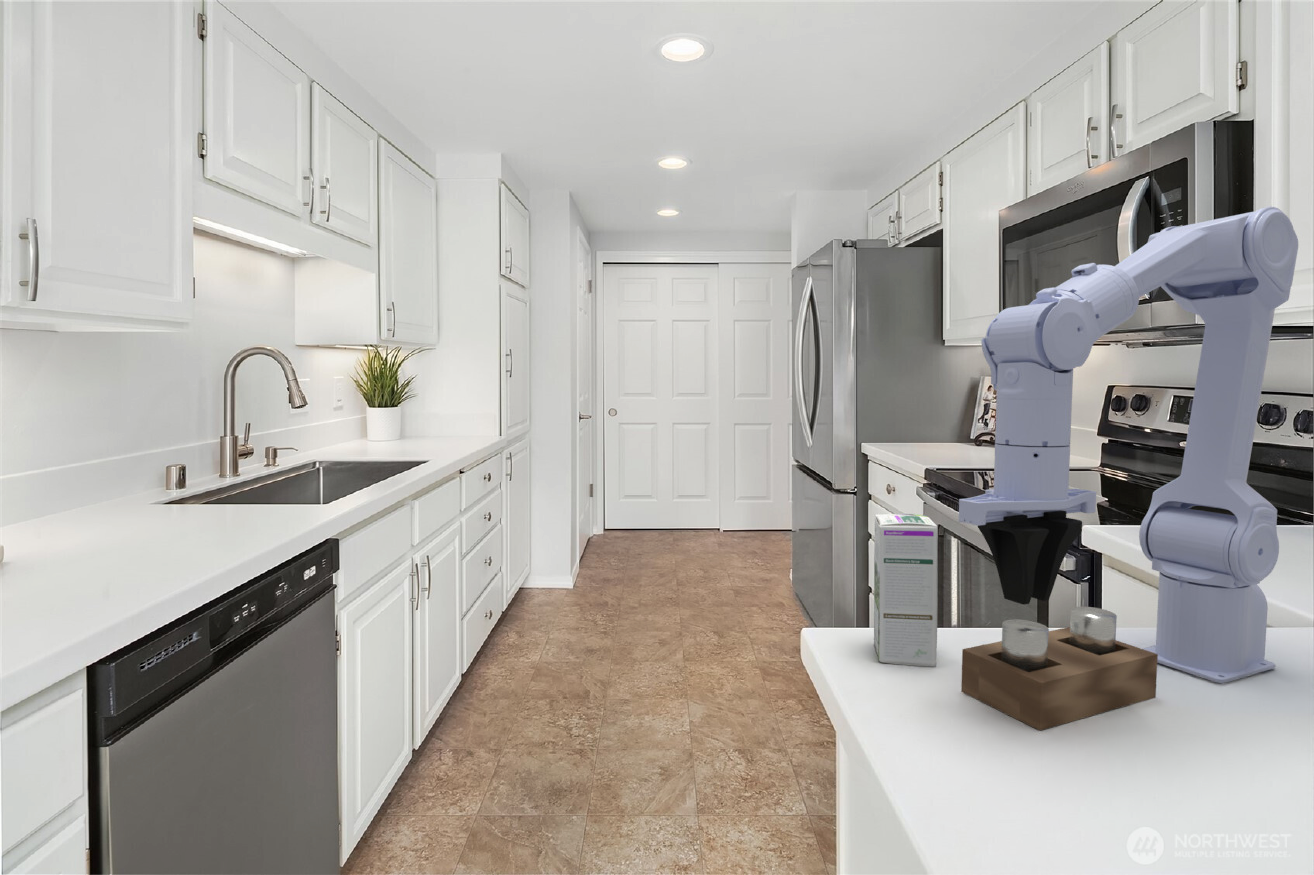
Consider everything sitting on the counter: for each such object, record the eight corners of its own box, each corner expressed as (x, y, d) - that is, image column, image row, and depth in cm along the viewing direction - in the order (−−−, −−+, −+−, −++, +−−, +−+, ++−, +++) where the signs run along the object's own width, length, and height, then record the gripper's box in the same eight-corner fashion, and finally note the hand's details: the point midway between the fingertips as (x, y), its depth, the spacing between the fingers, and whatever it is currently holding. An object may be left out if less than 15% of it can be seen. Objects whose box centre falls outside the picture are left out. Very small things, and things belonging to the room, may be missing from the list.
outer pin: (1020, 657, 64) (1021, 617, 63) (1056, 672, 60) (1058, 629, 60) (991, 664, 62) (993, 622, 62) (1027, 679, 59) (1029, 635, 59)
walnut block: (1071, 665, 70) (1073, 626, 70) (1155, 697, 63) (1157, 654, 62) (961, 691, 64) (962, 649, 64) (1039, 730, 57) (1041, 682, 56)
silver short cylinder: (1086, 643, 67) (1087, 604, 67) (1123, 656, 64) (1125, 615, 64) (1060, 648, 66) (1062, 609, 66) (1097, 662, 63) (1099, 621, 62)
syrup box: (938, 668, 69) (942, 524, 68) (876, 663, 71) (879, 522, 70) (927, 647, 75) (931, 514, 74) (870, 643, 76) (873, 512, 75)
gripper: (1047, 438, 66) (1042, 578, 67) (932, 444, 61) (928, 596, 62) (1122, 444, 60) (1115, 598, 61) (1001, 450, 54) (996, 621, 55)
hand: (1026, 599), depth 61 cm, fingers closed
